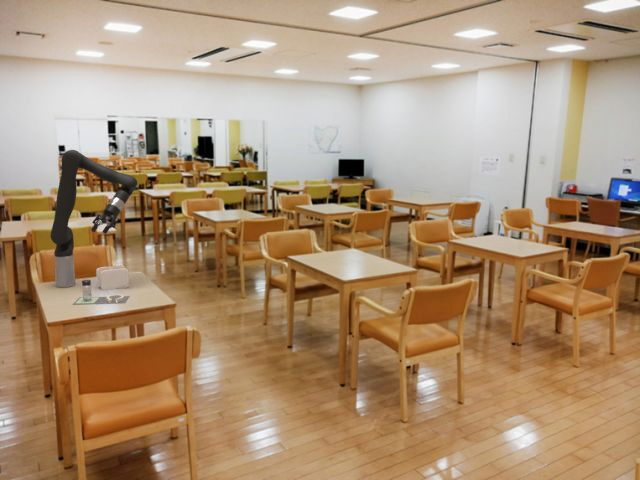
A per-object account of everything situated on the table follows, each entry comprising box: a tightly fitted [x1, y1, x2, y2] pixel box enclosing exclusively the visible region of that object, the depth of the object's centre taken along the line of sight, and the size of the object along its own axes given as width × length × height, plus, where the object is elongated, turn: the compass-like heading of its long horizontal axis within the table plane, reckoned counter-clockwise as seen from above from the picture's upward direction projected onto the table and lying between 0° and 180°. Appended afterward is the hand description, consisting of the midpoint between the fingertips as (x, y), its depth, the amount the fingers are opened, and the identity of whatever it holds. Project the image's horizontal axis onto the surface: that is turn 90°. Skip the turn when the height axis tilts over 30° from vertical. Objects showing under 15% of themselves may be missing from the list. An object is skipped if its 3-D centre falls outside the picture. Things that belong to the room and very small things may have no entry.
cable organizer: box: [95, 264, 130, 291], centre depth 294 cm, size 15×11×12 cm
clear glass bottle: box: [81, 279, 93, 301], centre depth 269 cm, size 4×4×10 cm
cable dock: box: [71, 294, 131, 306], centre depth 270 cm, size 25×12×3 cm, turn 97°
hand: (98, 232), depth 281 cm, fingers open, 8 cm apart
